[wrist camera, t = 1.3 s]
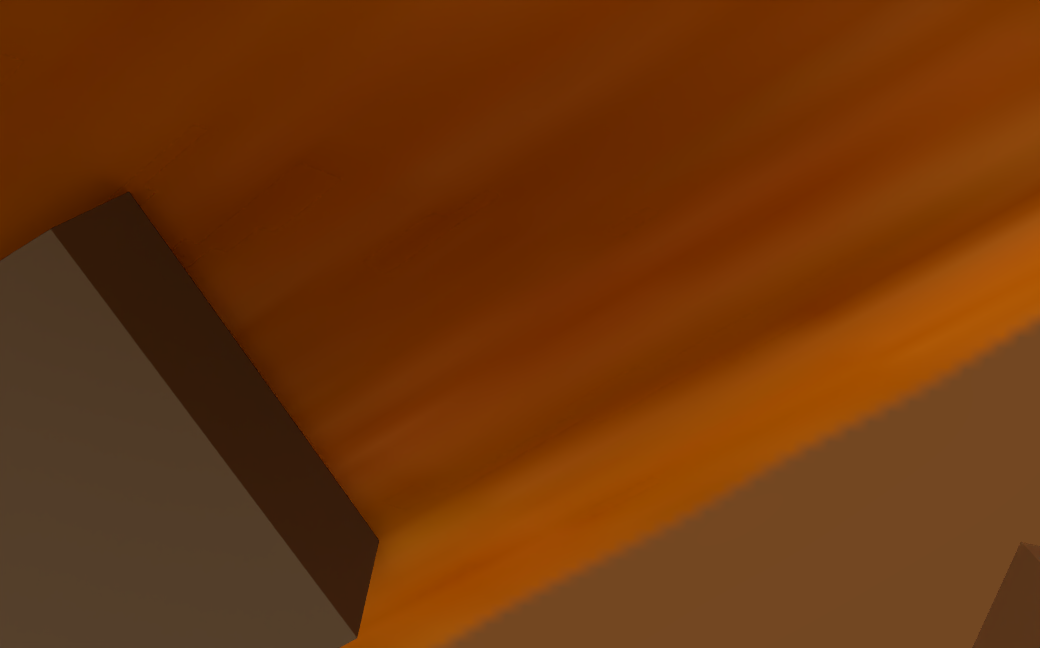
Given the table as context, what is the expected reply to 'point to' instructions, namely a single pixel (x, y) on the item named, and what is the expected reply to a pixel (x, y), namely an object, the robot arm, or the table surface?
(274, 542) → the slate block
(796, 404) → the table surface
